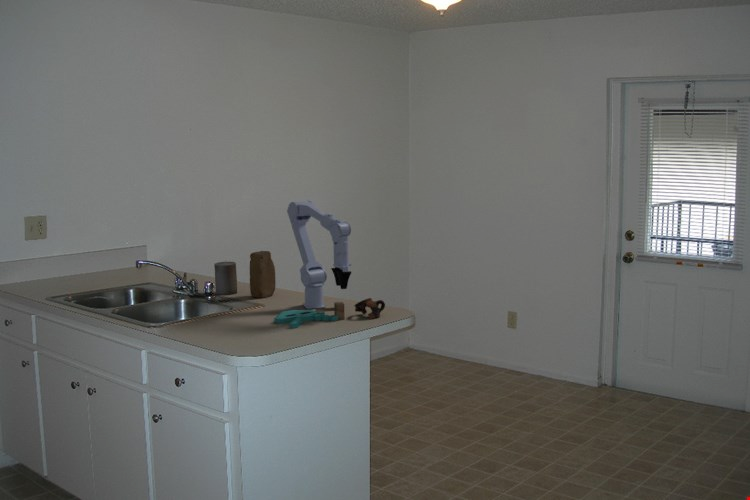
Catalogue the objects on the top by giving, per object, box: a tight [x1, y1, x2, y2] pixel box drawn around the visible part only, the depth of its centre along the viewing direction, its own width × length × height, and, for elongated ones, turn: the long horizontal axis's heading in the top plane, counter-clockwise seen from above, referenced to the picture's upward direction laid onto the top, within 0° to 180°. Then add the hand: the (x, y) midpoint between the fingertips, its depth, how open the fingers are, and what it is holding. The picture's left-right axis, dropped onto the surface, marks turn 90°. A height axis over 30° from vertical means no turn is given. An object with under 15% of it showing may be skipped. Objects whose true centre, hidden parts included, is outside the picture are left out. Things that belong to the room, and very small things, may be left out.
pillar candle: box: [213, 260, 238, 296], centre depth 349 cm, size 10×10×15 cm
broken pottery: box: [354, 297, 386, 320], centre depth 301 cm, size 12×10×8 cm
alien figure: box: [273, 309, 339, 329], centre depth 296 cm, size 20×2×20 cm
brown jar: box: [249, 250, 277, 299], centre depth 341 cm, size 11×8×20 cm
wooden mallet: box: [315, 301, 346, 321], centre depth 296 cm, size 4×10×6 cm, turn 106°
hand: (341, 287), depth 306 cm, fingers open, 7 cm apart
